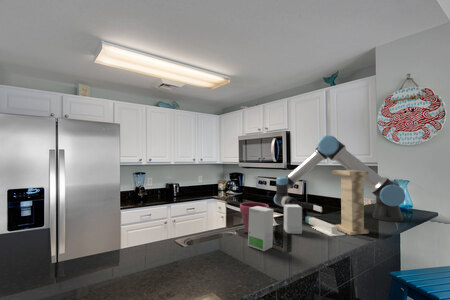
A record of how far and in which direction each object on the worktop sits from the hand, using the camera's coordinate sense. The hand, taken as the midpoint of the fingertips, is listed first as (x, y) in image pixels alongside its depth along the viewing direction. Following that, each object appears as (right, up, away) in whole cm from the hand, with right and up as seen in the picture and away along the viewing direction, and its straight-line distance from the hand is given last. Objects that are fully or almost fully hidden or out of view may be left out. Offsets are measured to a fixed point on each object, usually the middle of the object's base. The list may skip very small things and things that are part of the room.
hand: (311, 210), depth 131 cm
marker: (+2, -7, -7) cm, 10 cm away
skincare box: (-33, -6, -34) cm, 47 cm away
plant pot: (-33, -7, -12) cm, 36 cm away
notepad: (+4, -7, -12) cm, 15 cm away
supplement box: (-14, -7, -13) cm, 20 cm away
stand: (+16, -7, -11) cm, 21 cm away
